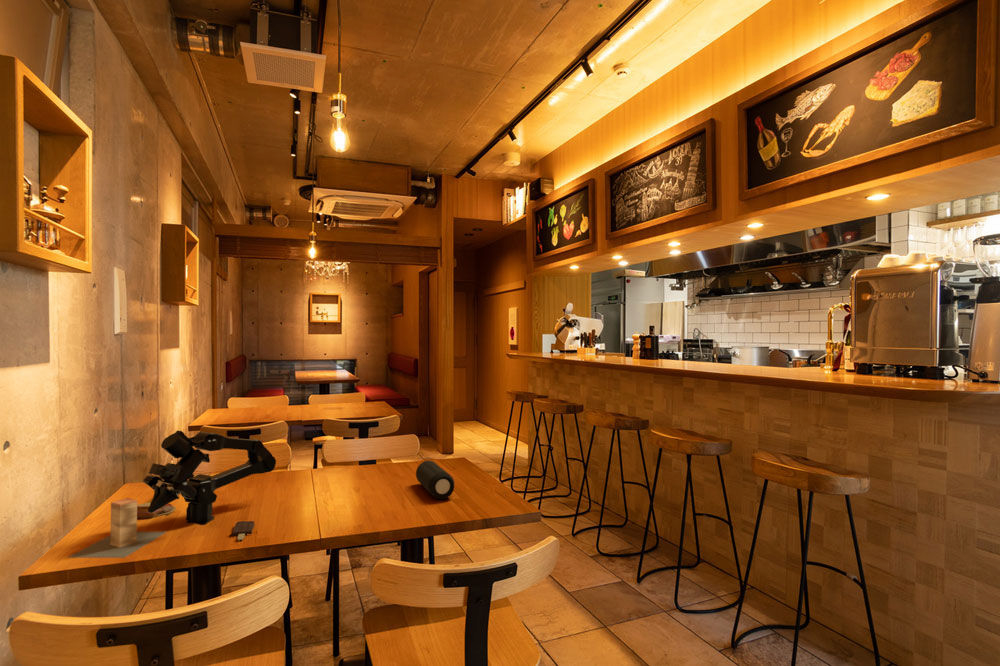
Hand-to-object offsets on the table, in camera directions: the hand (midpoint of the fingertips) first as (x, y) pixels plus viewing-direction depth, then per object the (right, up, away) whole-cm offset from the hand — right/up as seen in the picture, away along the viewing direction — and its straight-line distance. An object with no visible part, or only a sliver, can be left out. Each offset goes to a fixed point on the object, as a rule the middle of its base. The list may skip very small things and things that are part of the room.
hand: (149, 512), depth 159 cm
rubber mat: (-4, -7, -7) cm, 11 cm away
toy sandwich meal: (-12, -8, +21) cm, 25 cm away
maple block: (-3, -7, -6) cm, 10 cm away
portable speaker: (+78, -9, +51) cm, 94 cm away
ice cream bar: (+25, -8, +5) cm, 27 cm away
